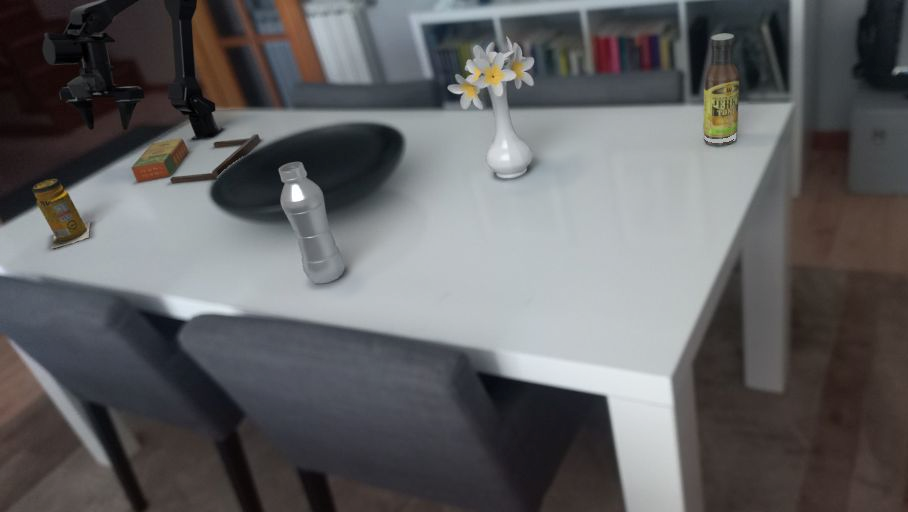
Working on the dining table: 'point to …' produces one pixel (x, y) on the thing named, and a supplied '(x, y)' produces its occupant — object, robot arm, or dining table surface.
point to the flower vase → (498, 104)
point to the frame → (241, 151)
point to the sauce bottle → (721, 91)
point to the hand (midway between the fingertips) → (108, 129)
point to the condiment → (60, 213)
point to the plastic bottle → (310, 224)
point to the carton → (159, 160)
